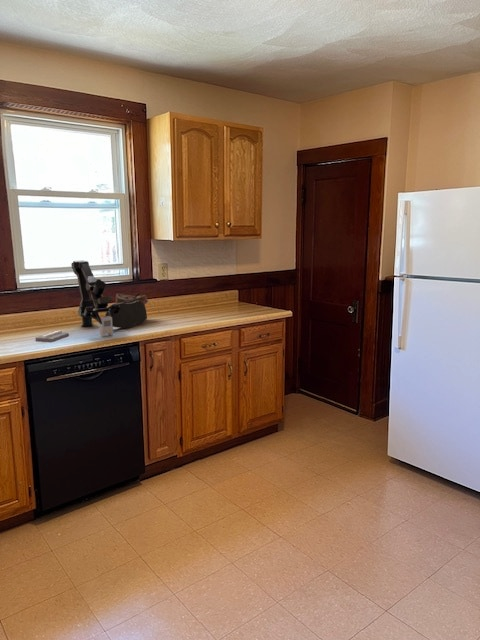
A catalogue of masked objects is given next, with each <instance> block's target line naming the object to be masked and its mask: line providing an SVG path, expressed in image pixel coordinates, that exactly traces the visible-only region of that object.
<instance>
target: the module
mask: <svg viewBox="0 0 480 640" xmlns="http://www.w3.org/2000/svg"><path fill="white" fill-rule="evenodd" d="M100 319H101V321H102V324H100V323H99V334H100V336H101V337H103V338H104V337H106V334H108V335H109V336H114V332H113V331H114V326H113V325H112V317H110V316H106V317H105V316H101V317H100Z"/></svg>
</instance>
